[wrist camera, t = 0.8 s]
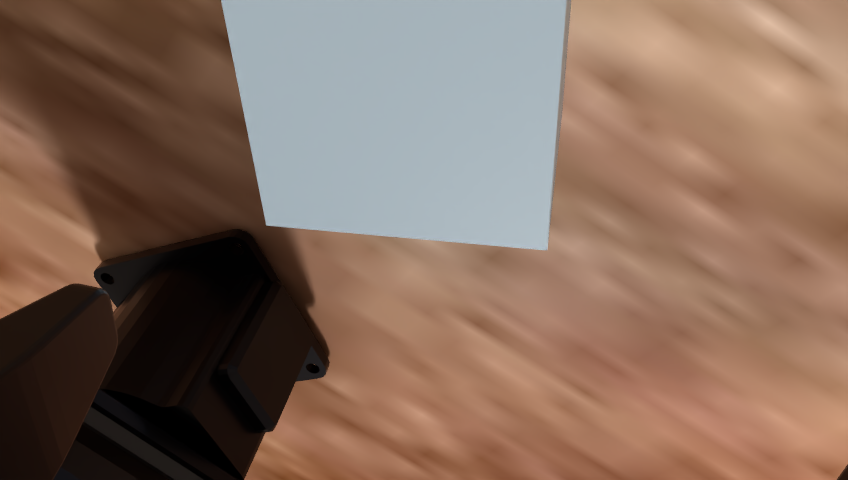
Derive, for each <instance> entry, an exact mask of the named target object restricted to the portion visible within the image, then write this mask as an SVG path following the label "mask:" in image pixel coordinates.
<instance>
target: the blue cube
mask: <svg viewBox="0 0 848 480" xmlns="http://www.w3.org/2000/svg"><path fill="white" fill-rule="evenodd" d="M221 2H222V7H223V12H224V17H225V22H226V27H227V32H228V37H229V42H230V47H231V52H232V57H233V62H234V67H235V72H236V77H237V82H238V87H239V92H240V97H241V102H242V107H243V112H244V117H245V122H246V127H247V132H248V137H249V142H250V147H251V152H252V157H253V162H254V167H255V172H256V177H257V182H258V187H259V192H260V196H261V201H262V206H263V211H264V216H265V221H266V226H277V227H288V228H300V229H311V230H322V231H334V232H345V233H356V234H368V235H379V236H390V237H401V238H413V239H424V240H435V241H447V242H458V243H469V244H481V245H492V246H503V247H515V248H526V249H537V250H547V248H548V239H549V230H550V221H551V211H552V202H553V193H554V184H555V174H556V165H557V156H558V146H559V137H560V128H561V119H562V108H563V95H564V83H565V71H566V58H567V46H568V34H569V21H570V9H571V0H221Z"/></svg>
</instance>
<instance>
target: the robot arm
mask: <svg viewBox="0 0 848 480" xmlns="http://www.w3.org/2000/svg"><path fill="white" fill-rule="evenodd" d="M235 243H238V244H240V245H241V246H242V247H243V248H241V247H238V246H237V245H236V244H235ZM94 277H95V279H96V281H97V282H98V284H99V285H100V286H101V287H102V288H97V287H92V286H88V285H83V284H70V285H68V286H65V287H63V288H61V289H59V290H57V291H55V292H53V293H51V294H49V295H47V296H45V297H43V298H41V299H39V300H37V301H35V302H33V303H31V304H29V305H27V306H25V307H23V308H21V309H19V310H17V311H15V312H13V313H11V314H9V315H7V316H5V317H3V318H1V319H0V480H244V478H245V476H246V474H247V472H248V470H249V467H250V465H251V463H252V461H253V459H254V456H255V454H256V452H257V450H258V447H259V445H260V443H261V441H262V439H263V436H264V434H265V432H271V431H273V430H274V429H275V427H276V425H277V423H278V420H279V418H280V416H281V413H282V411H283V409H284V407H285V404H286V402H287V400H288V398H289V395H290V393H291V391H292V389H293V386H294V384H295V382H296V381H303V380H310V379H317V378H321V377H323V376H324V375H325V374H326V372H327V369H328V367H329V363H330V362H329V360H328V358H327V356H326V354H325V353H324V351H323V350H322V348H321V346H320V345H319V343H318V341H317V340H316V338H315V337H314V335H313V333H312V332H311V330H310V328H309V327H308V325H307V324H306V322H305V320H304V319H303V317H302V315H301V314H300V312H299V311H298V309H297V307H296V306H295V304H294V303H293V301H292V299H291V298H290V296H289V294H288V293H287V291H286V290H285V288H284V287H283V285H282V283H281V282H280V280H279V278H278V277H277V275H276V274H275V272H274V270H273V269H272V267H271V266H270V264H269V262H268V261H267V259H266V257H265V256H264V254H263V253H262V251H261V249H260V248H259V246H258V245H257V243H256V241H255V240H254V238H253V237H252V236H251V235H250V234H249V233H247V232H246V231H243V230H240V229H235V230H230V231H226V232H221V233H217V234H213V235H209V236H205V237H201V238H197V239H193V240H188V241H184V242H180V243H176V244H172V245H168V246H164V247H159V248H155V249H151V250H147V251H143V252H139V253H135V254H130V255H126V256H122V257H118V258H114V259H110V260H106V261H103V262H102V263H101V264H100V265H99V266H98V267H97V268H96V270H95V271H94ZM110 299H111V300H112V302H113V303H114V304H115V305H116V307H117V308H116V309H115V311H114V312H113V310H112V305H111V300H110ZM314 364H315V365H314ZM837 480H848V465H847V466H846V468H845V469H844V470H843V472H842V473H841V474H840V476H839V477H838V479H837Z"/></svg>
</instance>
